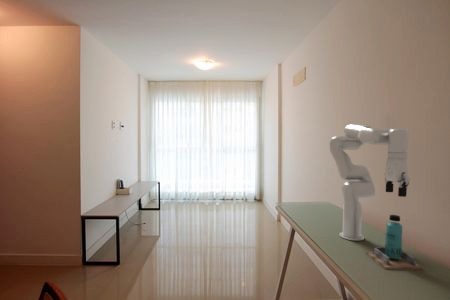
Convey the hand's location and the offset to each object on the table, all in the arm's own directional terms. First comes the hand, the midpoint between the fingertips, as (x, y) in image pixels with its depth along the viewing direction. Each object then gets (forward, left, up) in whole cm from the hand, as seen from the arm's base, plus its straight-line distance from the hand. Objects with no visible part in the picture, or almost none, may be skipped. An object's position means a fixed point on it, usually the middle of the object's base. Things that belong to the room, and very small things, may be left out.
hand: (395, 194), depth 123 cm
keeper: (+1, 0, -31) cm, 31 cm away
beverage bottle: (+1, 0, -30) cm, 30 cm away
